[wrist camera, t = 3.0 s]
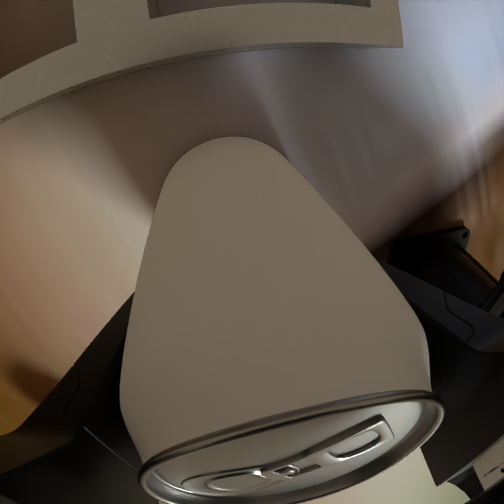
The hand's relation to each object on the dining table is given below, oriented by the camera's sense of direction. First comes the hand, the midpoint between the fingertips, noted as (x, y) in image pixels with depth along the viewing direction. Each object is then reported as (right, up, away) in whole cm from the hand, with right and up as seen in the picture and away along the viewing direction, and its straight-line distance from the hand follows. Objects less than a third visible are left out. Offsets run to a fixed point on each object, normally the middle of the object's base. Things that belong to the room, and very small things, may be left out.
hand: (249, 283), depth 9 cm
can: (-1, +3, +5) cm, 6 cm away
